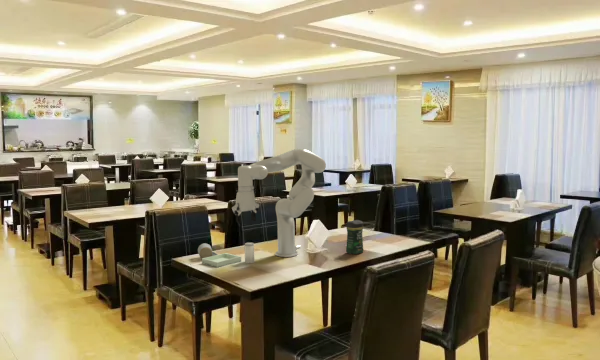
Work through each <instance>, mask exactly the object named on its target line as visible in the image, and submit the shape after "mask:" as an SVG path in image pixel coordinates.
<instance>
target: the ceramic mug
mask: <svg viewBox="0 0 600 360" xmlns="http://www.w3.org/2000/svg"><path fill="white" fill-rule="evenodd" d="M197 254H198V256H199V257H200V259H202V258H206V257H211V256H215V255H219V254H218V253H216V252H215V251H213V249H212V246H211V245H210V244H208V243H206V242H205V243H201V244H200V245H198V248H197Z"/></svg>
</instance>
